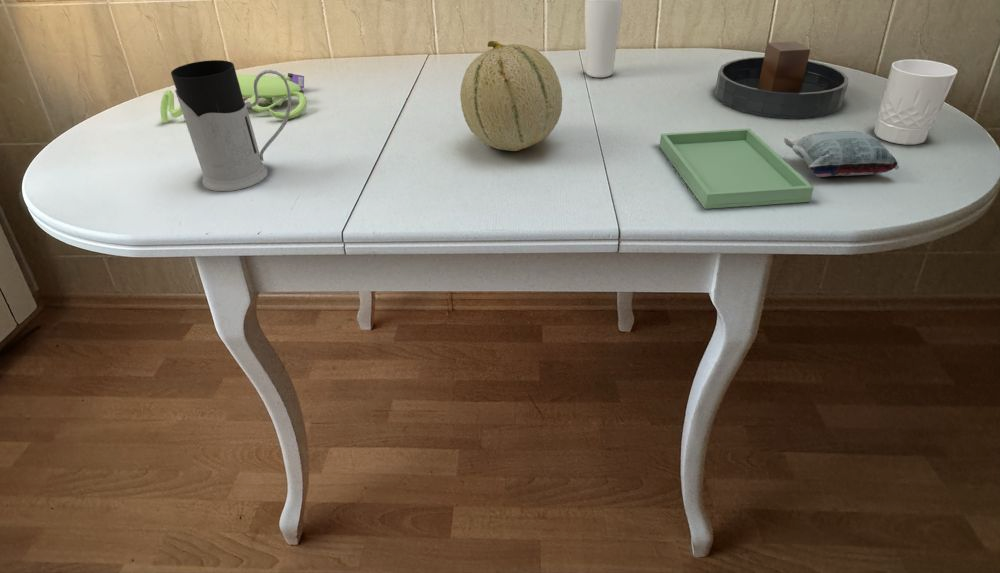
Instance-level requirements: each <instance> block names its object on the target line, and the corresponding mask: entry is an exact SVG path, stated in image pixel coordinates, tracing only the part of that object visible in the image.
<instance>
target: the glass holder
mask: <svg viewBox="0 0 1000 573" xmlns="http://www.w3.org/2000/svg"><path fill="white" fill-rule="evenodd" d="M236 74H237V70H236V68H235V64H234V63H233V62H232V61H229V60H221V59H220V60H218V59H217V60H216V59H213V60H212V59H211V60H202V61H196V62H195V61H194V62H190V63H186V64H183V65H180V66H177V67H175V68H174V69H172V70H171V72H170V75H171V78H172V81H173V85H174V87H175V91H174V92H175V94H176V98H177V101H178V104H179V106H180V107H181V110H182V113H183V114H182V116H183V118H184V121H185V124H186V128H187V130H188V133H189V136H190V139H191V142H192V145H193V148H194V151H195V154H196V157H197V160H198V163H199V166H200V169H201V172H202V182H201V183H202V186H203V187H204V188H205V189H207V190H210V191H214V192H232V191H233V192H234V191H238V190H242V189H246V188H250V187H253V186H254V185H256V184H258V183H261V182H262V181H263V180H264V179H266V177H267V176H268V175H269V171H268V168H267V167H266V166H265V165H264V163H263V162H264V153H265V152H266V151H267V149H268V147H269V146H271V144H272V143H273V142H274V141H275V140H276V138H277V137H278V136H279V135H280V133H281V132H282V131H283V129H284V128H285V126H286V125H287V124H288V121H289V119H288V118H289V114H290V112H291V108H292V96H291V95H290V89H289V86H288V83H287V80H286V79H285V77H284V76H283V75H284V74H282V73H280V72H278V71H277V70H273V69H265V70H263V71H260V72H259V73H258V74H256V75H257V76H256V78H255V80H254V92H255V97H256V101H255V102H254V103H252V104H250V103H248V104H247V102H246V101H244V100H243V97H242V93H241V89H240V86H239V82H238V78H237V75H236ZM266 74H271V75H272V74H273V75H276V76H280V77H281V78H282V79H283V80H284V82H285V85H286V87H287V94H288V98H287V108H286V112H285V113H286V115H285V118H284V119H283V120H282V123H280V124H281V125H280V126H279V127H278V129H277V130H276V131H275V133H274V134H273V135H272V136H271V137H270V138H269V139H268V141H267V142H266V143H265V144H264V145H263V147H262V148H261V149H260V150H259V146H258V143H257V140H256V136H255V132H254V129H253V125H252V121H251V118H250V115H249V110H248V108H252V107H254V106H255V105H257V104H258V103H259V101H260V100H259V99H260V98H259V97H258V92H257V83H258V81H259V79H260V77H261V76H265V75H266Z"/></svg>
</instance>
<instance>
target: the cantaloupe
mask: <svg viewBox="0 0 1000 573" xmlns="http://www.w3.org/2000/svg"><path fill="white" fill-rule="evenodd" d="M487 47H488V48H491V49H489V50H487V51H484V52H483V53H481V54H480V55H478V56H477V57H476V58H474V59H473V60H472V61H471V63H470V64H469V66H468V67H467V68H466V70H465V73H464V74H463V77H462V81H461V84H460V92H459V93H460V94H459V96H460V97H459V98H460V105H461V111H462V113H463V114H462V115H463V117H464V120H465V122H466V125H467V126H468V128H469V130H470V132H471V133H472V134H473V135H474V136H475V138H477V139H478V140H479V141H481V142H482V143H483V144H484V145H487V146H489V147H491V148H493V149H497V150H500V151H501V150H502V151H509V152H517V151H522V150H524V149H527V148H530V147H531V146H533V145H536V144H537V143H539V142H542V141H543V140H545V139H546V138H547V137H549V135H550V134H551V133H552V132H553V131H554V130H555V128H556V125H557V124H558V122H559V120H560V117H561V114H562V111H563V92H562V91H563V90H562V86H561V82H560V79H559V76H558V74H557V72H556V70H555V68H554V66H553V65H552V64H551V62H550V61H549V59H548V58H547V57H546V56H545V55H543V53H541V52H540V51H539V50H538V49H536V48H534V47H531V46H528V45H525V44H515V43H511V44H501V43H499V42H498V41H496V40H489V41H488V42H487Z"/></svg>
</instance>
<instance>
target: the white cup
mask: <svg viewBox="0 0 1000 573" xmlns="http://www.w3.org/2000/svg"><path fill="white" fill-rule="evenodd" d="M957 74H958V69H956V67H954V66H953V65H950V64H947V63H944V62H939V61H934V60H928V59H916V58H915V59H913V58H912V59H900V60H895V61H893V62H892V64H891V66H890V69H889V72H888V77H887V81H886V84H885V88H884V91H883V94H882V98H881V104H880V106H879V110H878V117H877V120H876V124H875V126H874V130H873V133H874V135H875V136H876V137H877V138H879V139H881V140H883V141H886V142H889V143H893V144H897V145H905V146H906V145H919V144H923V143H924V142H925V141H926V140H927V138H928V136H929V133H930V131H931V128H932V127H933V125H934V124H935V122H936V120H937V117H938V116H939V114H940V112H941V110H942V108H943V105H944V103H945V101H946V100H947V99H946V98H947V96H948V94H949V92H950V90H951V87H952V85H953V83H954V81H955V78H956V76H957Z"/></svg>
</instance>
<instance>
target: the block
mask: <svg viewBox="0 0 1000 573" xmlns="http://www.w3.org/2000/svg"><path fill="white" fill-rule="evenodd" d="M810 53H811V48H809V47H807V46H805V45H804V44H801V43H800V42H798V41H795V40H794V41H777V42H767V43H766V47H765V52H764V56H763V57H764V60H763V65H762V70H761V75H760V79H759V84H758V89H762V90H767V91H776V92H787V93H800V89H801V85H802V81H803V77H804V73H805V69H806V65H807V62H808V60H809V57H810Z"/></svg>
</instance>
